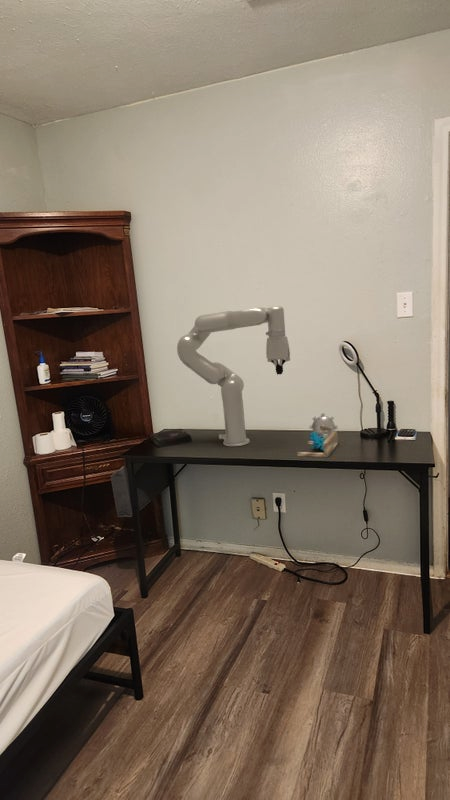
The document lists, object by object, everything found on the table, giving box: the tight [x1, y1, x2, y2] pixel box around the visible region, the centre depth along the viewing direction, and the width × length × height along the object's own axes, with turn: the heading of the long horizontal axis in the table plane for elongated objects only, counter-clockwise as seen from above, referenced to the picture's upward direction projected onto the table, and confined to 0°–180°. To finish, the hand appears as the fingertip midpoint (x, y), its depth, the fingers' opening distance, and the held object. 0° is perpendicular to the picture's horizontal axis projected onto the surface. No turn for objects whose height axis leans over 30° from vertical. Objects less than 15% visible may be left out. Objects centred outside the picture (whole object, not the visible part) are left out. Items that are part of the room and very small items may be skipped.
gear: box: [309, 412, 339, 439], centre depth 235 cm, size 12×3×13 cm, turn 66°
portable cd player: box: [149, 428, 193, 448], centre depth 262 cm, size 16×17×4 cm
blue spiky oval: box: [309, 431, 327, 452], centre depth 226 cm, size 11×6×10 cm
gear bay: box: [296, 430, 338, 458], centre depth 225 cm, size 13×20×6 cm, turn 156°
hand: (279, 373), depth 238 cm, fingers closed
